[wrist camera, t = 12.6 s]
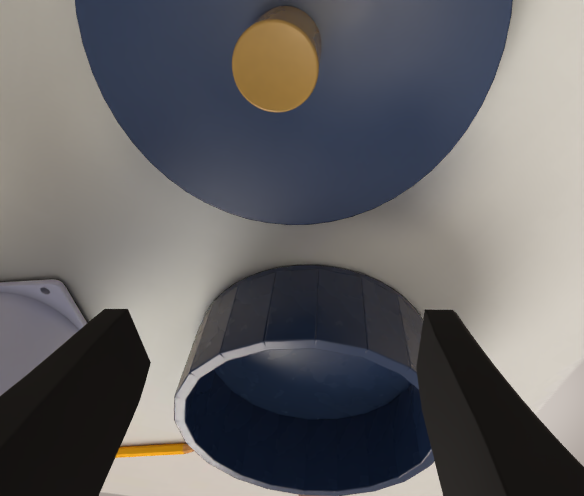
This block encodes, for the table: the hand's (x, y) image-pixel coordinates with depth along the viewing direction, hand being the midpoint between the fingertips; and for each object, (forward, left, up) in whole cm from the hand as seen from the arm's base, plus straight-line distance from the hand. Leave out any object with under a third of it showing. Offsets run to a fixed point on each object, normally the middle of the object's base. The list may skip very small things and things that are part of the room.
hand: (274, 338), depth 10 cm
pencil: (-17, -23, -10) cm, 30 cm away
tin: (-1, -12, -9) cm, 15 cm away
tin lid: (0, +5, -9) cm, 10 cm away
